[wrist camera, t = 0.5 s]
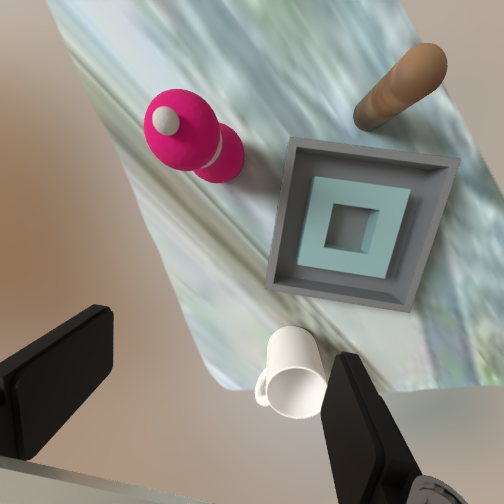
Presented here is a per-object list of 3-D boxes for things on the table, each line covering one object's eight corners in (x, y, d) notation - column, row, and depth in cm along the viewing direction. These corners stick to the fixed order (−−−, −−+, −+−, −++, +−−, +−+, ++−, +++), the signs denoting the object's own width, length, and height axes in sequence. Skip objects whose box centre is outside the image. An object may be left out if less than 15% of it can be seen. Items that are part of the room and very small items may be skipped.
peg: (357, 95, 32) (405, 40, 20) (388, 99, 32) (454, 45, 20) (350, 128, 33) (391, 94, 21) (379, 132, 33) (438, 99, 21)
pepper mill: (255, 144, 34) (231, 82, 15) (235, 192, 36) (192, 192, 17) (209, 123, 34) (124, 33, 15) (191, 172, 36) (96, 148, 17)
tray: (287, 144, 34) (290, 136, 29) (433, 163, 33) (461, 158, 28) (266, 277, 39) (265, 289, 34) (392, 297, 38) (409, 312, 33)
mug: (272, 384, 44) (272, 441, 34) (242, 353, 43) (232, 402, 33) (326, 348, 41) (342, 399, 31) (295, 314, 40) (301, 355, 30)
